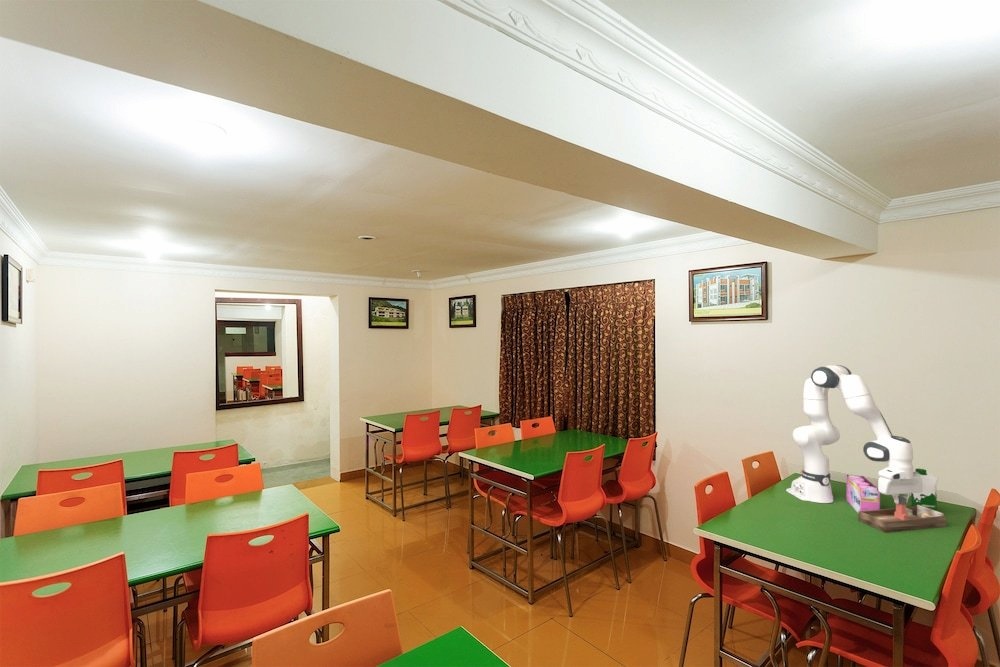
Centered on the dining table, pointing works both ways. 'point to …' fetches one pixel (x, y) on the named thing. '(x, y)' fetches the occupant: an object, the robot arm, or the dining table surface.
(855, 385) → the robot arm
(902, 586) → the dining table surface
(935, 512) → the pitch
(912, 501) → the milk carton
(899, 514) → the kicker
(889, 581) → the dining table surface
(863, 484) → the gum box
